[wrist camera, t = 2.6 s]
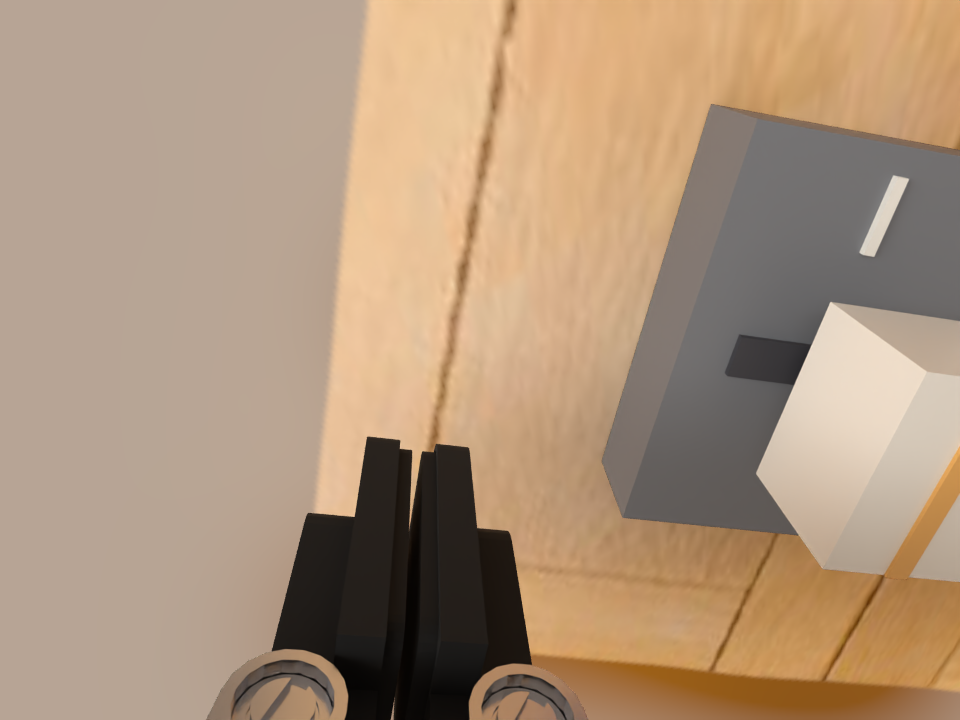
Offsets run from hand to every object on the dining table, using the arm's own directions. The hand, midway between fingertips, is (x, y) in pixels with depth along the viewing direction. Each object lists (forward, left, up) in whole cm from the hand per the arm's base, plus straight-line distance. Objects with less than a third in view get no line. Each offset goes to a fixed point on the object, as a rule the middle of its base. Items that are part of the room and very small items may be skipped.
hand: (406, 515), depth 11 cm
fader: (-1, +11, -7) cm, 13 cm away
